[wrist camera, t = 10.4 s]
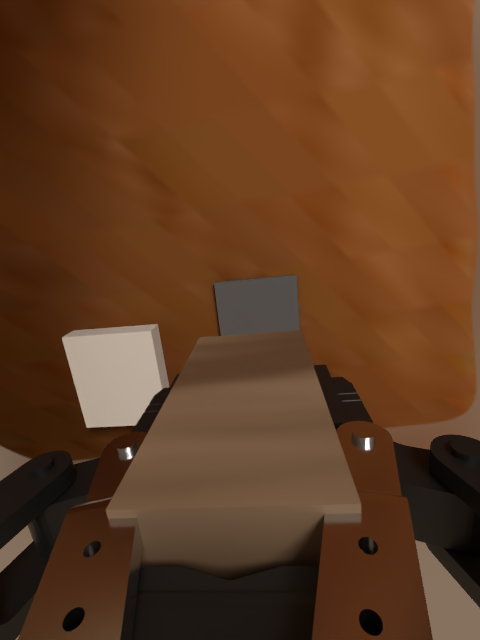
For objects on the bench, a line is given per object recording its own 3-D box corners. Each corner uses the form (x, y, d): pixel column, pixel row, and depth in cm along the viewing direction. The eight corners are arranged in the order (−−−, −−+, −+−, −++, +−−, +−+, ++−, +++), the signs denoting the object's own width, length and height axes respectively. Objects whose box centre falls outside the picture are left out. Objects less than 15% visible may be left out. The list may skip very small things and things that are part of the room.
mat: (214, 282, 24) (214, 283, 23) (296, 274, 23) (296, 275, 23) (225, 367, 26) (225, 370, 25) (300, 362, 25) (301, 365, 25)
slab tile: (61, 337, 24) (86, 427, 27) (150, 330, 24) (168, 423, 26) (75, 329, 26) (98, 414, 28) (158, 322, 25) (174, 410, 28)
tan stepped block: (194, 338, 13) (93, 510, 5) (306, 329, 12) (375, 503, 5) (226, 544, 16) (193, 840, 8) (316, 543, 16) (368, 854, 8)
